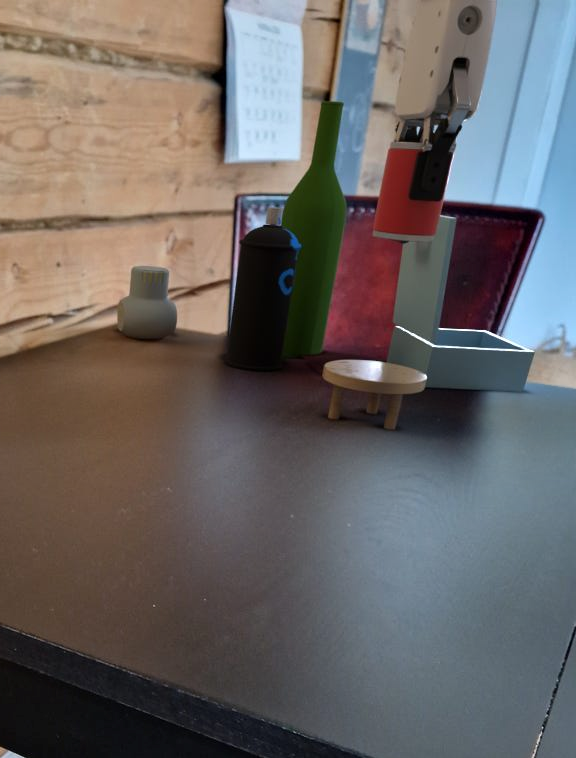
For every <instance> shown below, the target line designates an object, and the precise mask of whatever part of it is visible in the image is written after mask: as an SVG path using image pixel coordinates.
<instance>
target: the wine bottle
mask: <svg viewBox="0 0 576 758" xmlns="http://www.w3.org/2000/svg"><path fill="white" fill-rule="evenodd" d="M344 106H345V103H344V102H343V101H331V100H324V101H321V103H320V111H319V115H318V121H317V128H316V133H315V138H314V145H313V151H312V155H311V156H312V157H311V163H310V165H309V167H308V169H307V171H306V172H305V173H304V174H303V176H302V177H301V178H300V180H299V182H298V183H297V184H296V186H295V187H294V189H292V191H291V193H290V194H289V195H288V197H287V198H286V201H285V203H284V207H283V211H282V214H281V224H280V226H282V228H284V229H286V230H288V231H290V232H291V233H293V234H294V235H295V237H296V238H297V240H298V243H299V244H301V248H300V249H299V252H298V258H297V265H296V271H295V277H294V283H293V290H292V296H291V302H290V309H289V315H288V321H287V328H286V334H285V340H284V347H283V353H282V358H285V359H297V360H305V357H304V356H302V355H318V354H322V352H323V349H324V343H325V338H326V332H327V327H328V322H329V316H330V310H331V305H332V299H333V293H334V289H335V288H334V287H335V282H336V276H337V273H338V272H337V270H338V266H339V261H340V255H341V248H342V244H343V238H344V232H345V226H346V222H347V214H348V213H347V211H348V210H347V209H348V207H347V200H346V198H345V194H344V192H343V190H342V186H341V184H340V181H339V179H338V175H337V172H336V167H335V163H336V156H337V148H338V142H339V135H340V130H341V124H342V116H343V110H344Z"/></svg>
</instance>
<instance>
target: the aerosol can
mask: <svg viewBox="0 0 576 758" xmlns="http://www.w3.org/2000/svg"><path fill="white" fill-rule="evenodd" d="M283 209H284V207H277V206H275V207H274V206H268V207H267V210H266V217H265V218H266V219H265V224H262V225H261V226H259V227H258V226H257V227H255V228H253V229H251V230H249V231H248V232H247V233H246V234H245V235H244V236H243V238H242V239H239V241H238V243H239V245H240V246H239V247H240V248H239V256H238V265H237V272H236V279H235V286H234V296H233V304H232V312H231V318H230V319H231V320H230V326H229V335H228V342H227V349H226V357H225V358H224V363H225V364H226V366H229V367H231V368H235V369H240V370H246V371H255V372H271V371H278V370H280V369H282V368H283V363H282V358H283V357H282V353H283V347H284V340H285V334H286V328H287V321H288V315H289V309H290V302H291V296H292V290H293V283H294V277H295V271H296V265H297V258H298V252H299V249H300V248H301V244H299V243H298V240H297V238H296V237H295V235H294V234H293V233H291V232H290V231H288V230H286V229H284V228H282V226H281V221H282V214H283Z"/></svg>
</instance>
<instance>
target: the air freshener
mask: <svg viewBox="0 0 576 758" xmlns="http://www.w3.org/2000/svg"><path fill="white" fill-rule="evenodd" d="M169 282H170V270H169V269H168V268H166V267H161V266H155V265H153V266H151V265H135V266H133V267H131V270H130V282H129V293H128V295H126V296H125V297H123V298H121V299H119V301H118V304H117V312H116V313H117V314H116V317H117V318H116V320H117V327H118V330H119V331H120V332H121V333H123V334H124V335H125V336H126V337H127V338H131V339H139V340H163V339H164V338H166V337H169V336H170V335H172V334H173V333H175V331H176V329H177V324H178V310H177V306H176V303H175V302H174V301H173V300H171V299H170V298H168V294H169V293H168V292H169V284H170V283H169Z"/></svg>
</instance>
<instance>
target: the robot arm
mask: <svg viewBox="0 0 576 758" xmlns="http://www.w3.org/2000/svg"><path fill="white" fill-rule="evenodd" d="M497 5H498V0H418V1H417V6H416V9H415V12H414V15H413V19H412V24H411V28H410V32H409V35H408V40H407V44H406V48H405V53H404V56H403V62H402V66H401V70H400V74H399V80H398V85H397V91H396V97H395V104H394V112H395V115H396V125H395V130H394V131H395V136H394V140H393V142H415V143H423V146H422V151H423V152H417V157H416V161H415V166H414V171H413V175H412V180H411V185H410V190H409V194H408V197H409V199H410V200H420V201H436V202H438V201H441V200H442V198H443V194H444V189H445V185H446V181H447V176H448V172H449V168H450V163H451V159H452V155H453V153H454V154H455V151H456V148H457V141H458V135H459V133H460V132H461V131H462V129H463V122H465V121H469V120H471V118H473V117H474V116H475V114H476V113H477V112H478V110H479V106H480V101H481V97H482V93H483V88H484V83H485V78H486V72H487V67H488V63H489V56H490V53H491V48H492V47H491V46H492V40H493V35H494V29H495V22H496V15H497ZM435 126H437V127H436V129H435ZM418 128H419V129H418Z"/></svg>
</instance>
